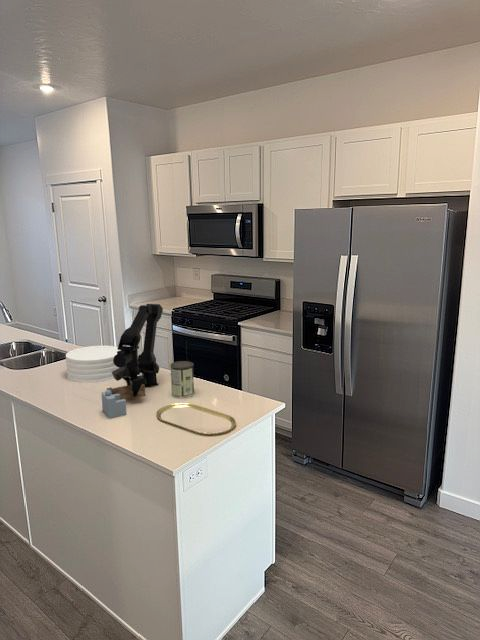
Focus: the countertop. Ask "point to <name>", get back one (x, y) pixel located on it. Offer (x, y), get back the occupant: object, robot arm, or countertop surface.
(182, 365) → the coffee can
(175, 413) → the countertop surface
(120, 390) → the brown wooden bar
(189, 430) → the serving platter
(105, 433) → the countertop surface
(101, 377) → the plate stack
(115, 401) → the stepped blue block
